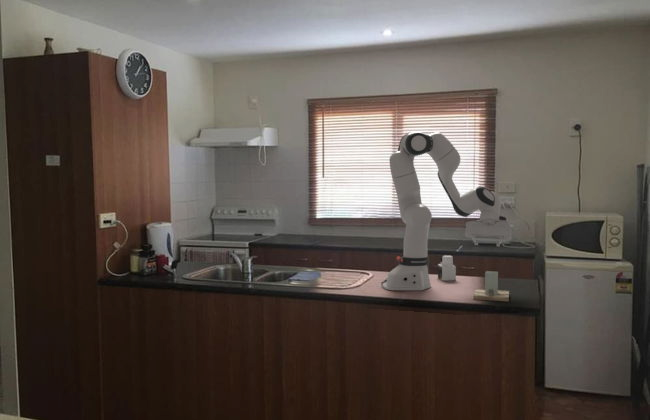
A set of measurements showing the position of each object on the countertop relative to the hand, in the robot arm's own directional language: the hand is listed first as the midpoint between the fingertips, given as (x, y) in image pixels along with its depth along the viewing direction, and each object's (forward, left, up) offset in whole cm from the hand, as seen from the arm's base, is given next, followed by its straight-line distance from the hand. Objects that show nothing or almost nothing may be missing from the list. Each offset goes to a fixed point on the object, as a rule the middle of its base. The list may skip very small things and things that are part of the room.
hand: (487, 245), depth 249 cm
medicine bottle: (-9, +29, -21) cm, 37 cm away
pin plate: (-3, -12, -21) cm, 24 cm away
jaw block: (-3, -12, -19) cm, 23 cm away
